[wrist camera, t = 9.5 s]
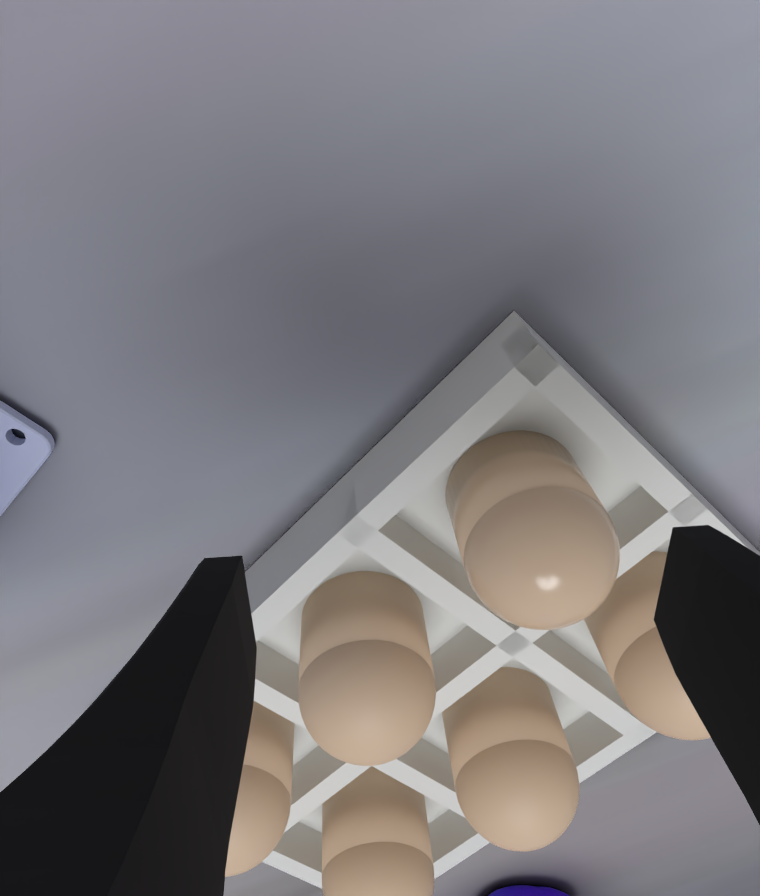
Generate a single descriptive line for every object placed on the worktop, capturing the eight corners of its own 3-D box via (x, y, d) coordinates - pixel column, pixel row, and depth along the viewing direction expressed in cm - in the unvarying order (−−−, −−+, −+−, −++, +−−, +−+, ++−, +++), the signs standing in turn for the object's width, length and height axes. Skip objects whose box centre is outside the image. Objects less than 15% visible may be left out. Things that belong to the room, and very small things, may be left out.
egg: (417, 498, 21) (443, 614, 17) (515, 404, 20) (571, 504, 15) (508, 564, 22) (553, 687, 18) (605, 481, 21) (678, 592, 17)
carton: (98, 714, 26) (40, 881, 21) (514, 310, 19) (582, 404, 14) (376, 852, 31) (386, 1013, 26) (777, 569, 25) (898, 708, 19)
